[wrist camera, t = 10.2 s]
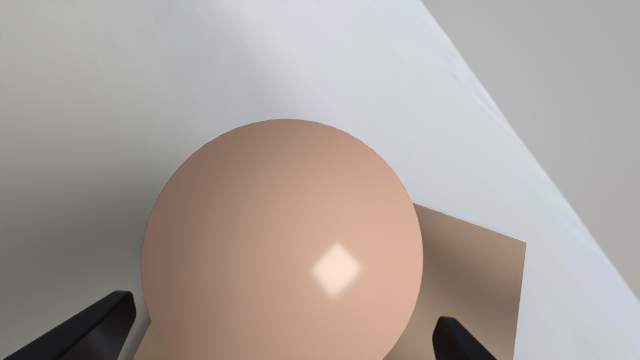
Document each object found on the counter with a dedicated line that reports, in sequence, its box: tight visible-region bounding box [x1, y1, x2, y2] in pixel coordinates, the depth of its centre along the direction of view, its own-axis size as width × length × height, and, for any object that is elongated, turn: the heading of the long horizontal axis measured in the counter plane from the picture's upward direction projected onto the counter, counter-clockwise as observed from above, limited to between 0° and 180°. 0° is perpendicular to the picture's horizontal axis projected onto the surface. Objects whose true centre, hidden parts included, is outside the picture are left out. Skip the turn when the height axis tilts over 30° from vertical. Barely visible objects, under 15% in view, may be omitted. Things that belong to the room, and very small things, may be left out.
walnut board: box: [132, 203, 526, 360], centre depth 16 cm, size 18×18×1 cm
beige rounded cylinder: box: [141, 119, 423, 360], centre depth 11 cm, size 5×5×12 cm
